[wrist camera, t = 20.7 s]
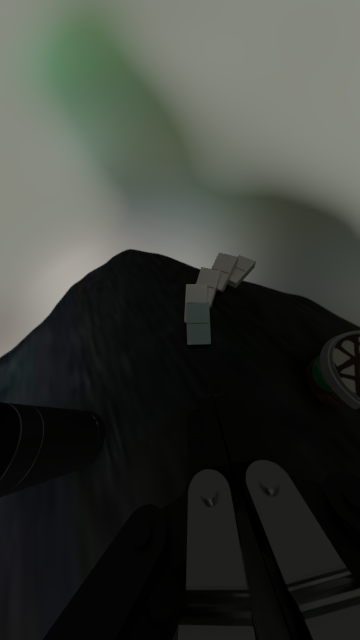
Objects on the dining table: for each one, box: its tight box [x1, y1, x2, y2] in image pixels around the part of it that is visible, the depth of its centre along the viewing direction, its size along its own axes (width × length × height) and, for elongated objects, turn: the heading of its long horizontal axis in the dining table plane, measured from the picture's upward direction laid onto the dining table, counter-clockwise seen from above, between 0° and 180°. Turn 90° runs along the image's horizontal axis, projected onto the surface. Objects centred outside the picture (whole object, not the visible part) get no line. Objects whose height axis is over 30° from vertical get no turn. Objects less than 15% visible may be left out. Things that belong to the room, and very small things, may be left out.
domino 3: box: [186, 302, 211, 345], centre depth 39 cm, size 2×5×9 cm
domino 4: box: [212, 253, 238, 293], centre depth 45 cm, size 2×5×9 cm
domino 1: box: [196, 267, 222, 308], centre depth 44 cm, size 2×5×9 cm
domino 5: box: [228, 255, 256, 288], centre depth 47 cm, size 2×5×9 cm
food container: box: [305, 331, 360, 409], centre depth 28 cm, size 12×6×10 cm, turn 138°
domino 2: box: [184, 284, 208, 323], centre depth 41 cm, size 2×5×9 cm
